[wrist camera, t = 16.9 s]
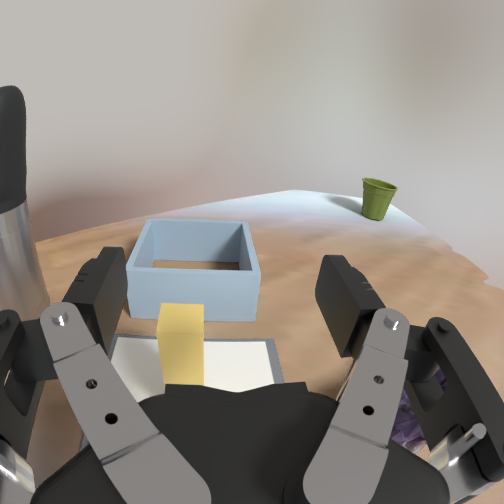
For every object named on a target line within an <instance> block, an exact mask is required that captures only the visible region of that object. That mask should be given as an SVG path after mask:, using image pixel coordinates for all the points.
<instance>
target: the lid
mask: <svg viewBox="0 0 504 504" xmlns="http://www.w3.org/2000/svg"><path fill="white" fill-rule="evenodd" d="M156 335H157V340H155V339H139V338H126V337H118V338H117V342H116V345H115V349H114V352H113V356H112V359H111V364H112V365H113V367H114V368H115V370H116V372H117V373H118V375H119V376H120V378H121V379H122V381H123V382H124V384H125V385H126V387H127V388H128V390H129V391H130V393H131V394H132V396H133V397H134V399H135V400H136V401H137V403H138V402H140V401H142V400H144V399H146V398H149V397H151V396H155V395H159V394H165V384H186V385H203V386H207V387H212V388H216V389H221V390H226V391H231V392H243V391H247V390H251V389H255V388H259V387H263V386H267V385H270V384H274V380H273V376H272V371H271V366H270V362H269V357H268V352H267V348H266V343H265V341H263V342H207V341H204V304H177V303H161V308H160V313H159V318H158V324H157V329H156Z"/></svg>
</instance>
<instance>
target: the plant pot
mask: <svg viewBox="0 0 504 504" xmlns="http://www.w3.org/2000/svg"><path fill="white" fill-rule="evenodd" d="M362 180H363V188H364V191H363V205H362V214H363V215H364V216H365V217H367V218H369V219H373V220H374V219H377V220H378V221H380V220H383V218H384V216H385V213H386V211H387V209H388V207H389V204H390V202H391V200H392V197H393V196H394V194H395V192H396V191H397V190H398V188H397V187H396V186H394V185H392V184H390V183H387V182H384V181H380V180H377V179H372V178H363V179H362Z"/></svg>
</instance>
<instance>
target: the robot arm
mask: <svg viewBox="0 0 504 504" xmlns="http://www.w3.org/2000/svg"><path fill="white" fill-rule="evenodd" d="M26 172H27V171H26V107H25V101H24V97H23V94H22V92H21V91H20V90H19V89H18V88H17V87H16V86H4V87H0V504H453V503H454V504H463V503H465V502H467V501H469V500H470V499H472V498H474V497H475V496H477V495H479V494H480V493H482V492H484V491H485V490H487V489H489V488H490V487H492V486H493V485H495V484H496V483H498V482H499V481H501V480H502V479H504V403H503V401H502V399H501V397H500V396H499V394H498V392H497V390H496V389H495V387H494V385H493V384H492V382H491V380H490V379H489V377H488V375H487V374H486V372H485V371H484V369H483V367H482V366H481V364H480V363H479V361H478V360H477V358H476V357H475V355H474V354H473V352H472V351H471V349H470V348H469V346H468V345H467V343H466V342H465V340H464V339H463V337H462V336H461V334H460V333H459V332H458V330H457V329H456V327H455V326H454V325H453V324H452V323H451V322H449V321H448V320H446V319H443V318H440V317H433V318H431V319H430V320H429V321H428V323H427V325H426V327H420V326H414V325H410V324H409V321H408V319H407V318H406V317H405V316H404V315H403V314H402V313H400V312H398V311H396V310H394V309H390V308H386V307H385V305H384V304H383V302H382V301H381V299H380V298H379V296H378V295H377V294H376V292H375V291H374V290H373V288H372V286H371V285H370V283H368V281H367V279H366V278H365V276H364V275H363V274H362V273H361V272H359V271H358V270H357V269H356V268H354V267H351V266H350V264H349V263H348V261H347V260H346V258H345V257H344V256H343V255H325V256H324V257H323V260H322V264H321V268H320V272H319V276H318V280H317V283H316V288H315V297H316V301H317V303H318V306H319V308H320V310H321V312H322V315H323V317H324V319H325V322H326V324H327V326H328V328H329V331H330V333H331V335H332V338H333V340H334V342H335V345H336V347H337V349H338V352H339V354H340V357H341V358H343V357H353V359H354V360H353V362H352V364H351V367H350V369H349V371H348V373H347V376H346V378H345V380H344V382H343V385H342V387H341V389H340V391H339V393H338V395H337V397H336V400H334V399H332V398H330V397H327V396H325V395H322V394H319V393H314V392H309V391H308V390H307V386H306V383H305V382H295V383H280V384H270V385H267V386H263V387H259V388H255V389H251V390H247V391H243V392H231V391H226V390H221V389H216V388H212V387H207V386H203V385H186V384H165V394H159V395H155V396H151V397H149V398H146V399H144V400H142V401H140V402H138V403H137V401H136V400H135V399H134V397H133V396H132V394H131V393H130V391H129V390H128V388H127V387H126V385H125V384H124V382H123V381H122V379H121V378H120V376H119V375H118V373H117V372H116V370H115V368H114V367H113V365H112V364H111V362H110V360H109V359H108V357H107V356H108V354H109V351H110V347H111V344H112V340H113V337H114V334H115V330H116V327H117V324H118V321H119V318H120V315H121V312H122V308H123V305H124V302H125V299H126V296H127V291H128V280H127V272H126V265H125V256H124V250H123V248H122V247H103V249H102V251H101V252H100V254H99V256H98V257H97V259H93V258H92V259H90V260H89V261H88V262H86V263H85V264H84V265H83V266H82V267H81V269H80V271H79V272H78V275H77V276H76V277H75V279H74V281H73V282H72V284H71V286H70V288H69V289H68V291H67V293H66V295H65V296H64V298H63V300H62V302H59V303H55V304H53V305H50V306H49V303H50V300H49V296H48V293H47V289H46V286H45V282H44V278H43V275H42V271H41V267H40V263H39V259H38V255H37V251H36V246H35V242H34V237H33V232H32V227H31V222H30V216H29V211H28V204H27V197H26ZM38 318H40V319H38ZM439 367H440V369H441V371H442V372H443V374H444V376H445V378H446V380H447V388H446V391H445V393H444V392H443V390H442V388H441V386H440V384H439V382H438V380H437V379H436V377H435V375H434V374H435V372H436V371H437V369H438V368H439ZM9 370H10V373H9V375H8V378H7V381H6V383H5V386H4V382H5V379H6V376H7V374H8V371H9ZM51 379H59V380H60V383H61V385H62V387H63V390H64V392H65V394H66V397H67V399H68V401H69V403H70V405H71V407H72V410H73V412H74V414H75V416H76V418H77V420H78V422H79V424H80V426H81V428H82V430H83V432H84V433H85V435H86V437H87V439H88V441H89V444H88V445H87V446H86V447H84V448H83V449H82V450H81V451H80V452H79V453H77V454H76V455H75V456H74V457H73V458H72V459H70V460H69V461H68V462H67V463H66V464H65V465H63V466H62V467H61V468H60V469H59V470H57V471H56V472H55V473H54V474H53V475H51V476H50V477H49V478H48V479H47V480H45V481H44V482H43V483H42V484H41V485H40V486H39V487H38V488H37V489H36V490H35V483H34V475H33V471H32V468H31V466H30V465H29V463H28V462H27V461H26V457H27V451H28V446H29V441H30V437H31V432H32V428H33V424H34V420H35V416H36V412H37V408H38V404H39V401H40V397H41V393H42V390H43V387H44V383H45V380H51ZM403 388H404V390H405V392H406V394H407V397H408V399H409V401H410V403H411V406H412V408H413V410H414V413H415V415H416V418H417V420H418V422H419V425H420V427H421V430H422V432H423V435H424V437H425V440H426V442H427V445H428V447H429V450H430V454H429V463H428V462H426V461H425V460H423V459H421V458H420V457H418V456H417V455H415V454H414V453H412V452H411V451H409V450H407V449H406V448H404V447H403V446H401V445H400V444H398V443H397V442H395V441H394V440H392V439H391V438H390V434H391V431H392V428H393V424H394V421H395V417H396V414H397V410H398V406H399V402H400V398H401V394H402V390H403Z"/></svg>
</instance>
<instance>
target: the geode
mask: <svg viewBox="0 0 504 504" xmlns="http://www.w3.org/2000/svg"><path fill="white" fill-rule="evenodd" d="M434 375H435V377H436V379H437V380H438V382H439V384H440V386H441V388H442V390H443V392H444V393H445V391H446V388H447V380H446V378H445V376H444V374H443V372H442V371H441V369H440V367H439V368H438V369H437V371H436V372H435V374H434ZM390 438H391V439H392V440H394V441H395V442H397V443H398V444H400V445H401V446H403V447H404V448H406V449H407V450H409V451H411V452H412V453H414V454H416V453H417V452H418V451H419V450H421V449H422V448H423V447H424V446H425V445H426V444H427V442H426V440H425V437H424V435H423V432H422V430H421V427H420V425H419V422H418V420H417V418H416V415H415V413H414V410H413V408H412V406H411V403H410V401H409V399H408V397H407V394H406V392H405V390H404V388H403V390H402V394H401V398H400V402H399V406H398V410H397V414H396V417H395V421H394V424H393V428H392V431H391V434H390Z"/></svg>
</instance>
